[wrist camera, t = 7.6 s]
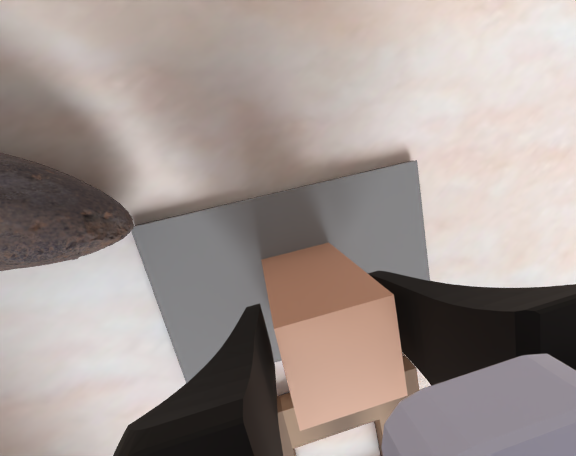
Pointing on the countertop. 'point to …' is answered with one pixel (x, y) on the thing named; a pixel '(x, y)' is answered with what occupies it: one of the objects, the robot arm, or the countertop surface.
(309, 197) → the slate mat
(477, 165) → the countertop surface
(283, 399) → the walnut pocket plate
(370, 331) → the terracotta block
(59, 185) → the perforated stone tool
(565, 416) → the robot arm
